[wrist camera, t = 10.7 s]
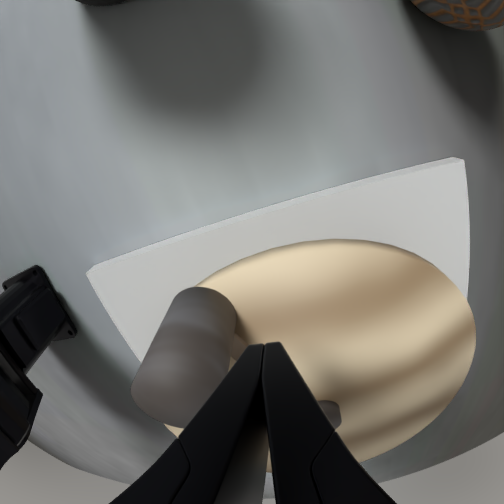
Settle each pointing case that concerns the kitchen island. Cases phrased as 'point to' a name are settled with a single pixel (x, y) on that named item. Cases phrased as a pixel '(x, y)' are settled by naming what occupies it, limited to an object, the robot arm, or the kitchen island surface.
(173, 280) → the base plate
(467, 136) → the kitchen island surface
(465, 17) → the vase
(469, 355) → the handwheel
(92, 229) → the kitchen island surface
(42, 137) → the kitchen island surface
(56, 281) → the kitchen island surface
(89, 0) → the pen holder
